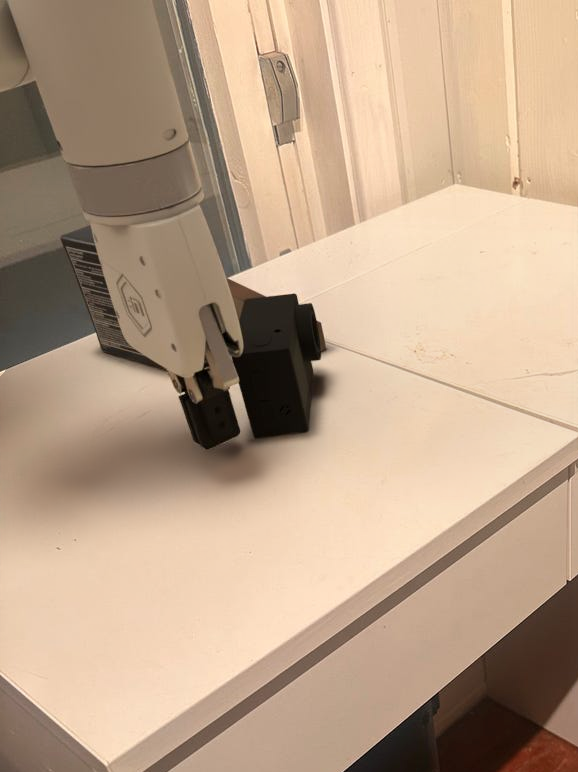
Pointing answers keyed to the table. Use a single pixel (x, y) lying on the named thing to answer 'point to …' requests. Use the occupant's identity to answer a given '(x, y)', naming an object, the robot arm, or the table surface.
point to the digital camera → (277, 363)
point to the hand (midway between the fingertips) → (217, 438)
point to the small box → (98, 294)
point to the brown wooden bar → (243, 293)
